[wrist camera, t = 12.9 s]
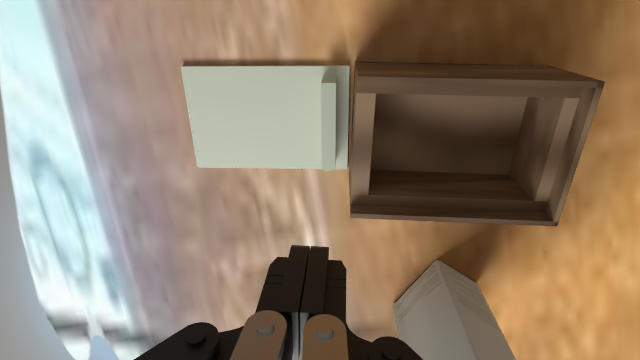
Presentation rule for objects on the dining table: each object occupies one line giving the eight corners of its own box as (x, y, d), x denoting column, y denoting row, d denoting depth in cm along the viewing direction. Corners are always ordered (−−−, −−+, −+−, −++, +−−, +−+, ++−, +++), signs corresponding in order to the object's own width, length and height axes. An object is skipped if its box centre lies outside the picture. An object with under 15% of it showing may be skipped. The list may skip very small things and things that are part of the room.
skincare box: (430, 325, 44) (468, 467, 30) (388, 302, 43) (409, 439, 29) (480, 279, 40) (548, 415, 27) (436, 253, 39) (485, 381, 26)
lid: (185, 65, 33) (168, 71, 30) (349, 64, 32) (350, 70, 29) (200, 163, 37) (187, 178, 34) (347, 165, 36) (347, 180, 33)
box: (355, 61, 32) (358, 76, 25) (548, 65, 31) (604, 81, 24) (349, 179, 36) (350, 217, 30) (516, 185, 35) (557, 226, 29)
